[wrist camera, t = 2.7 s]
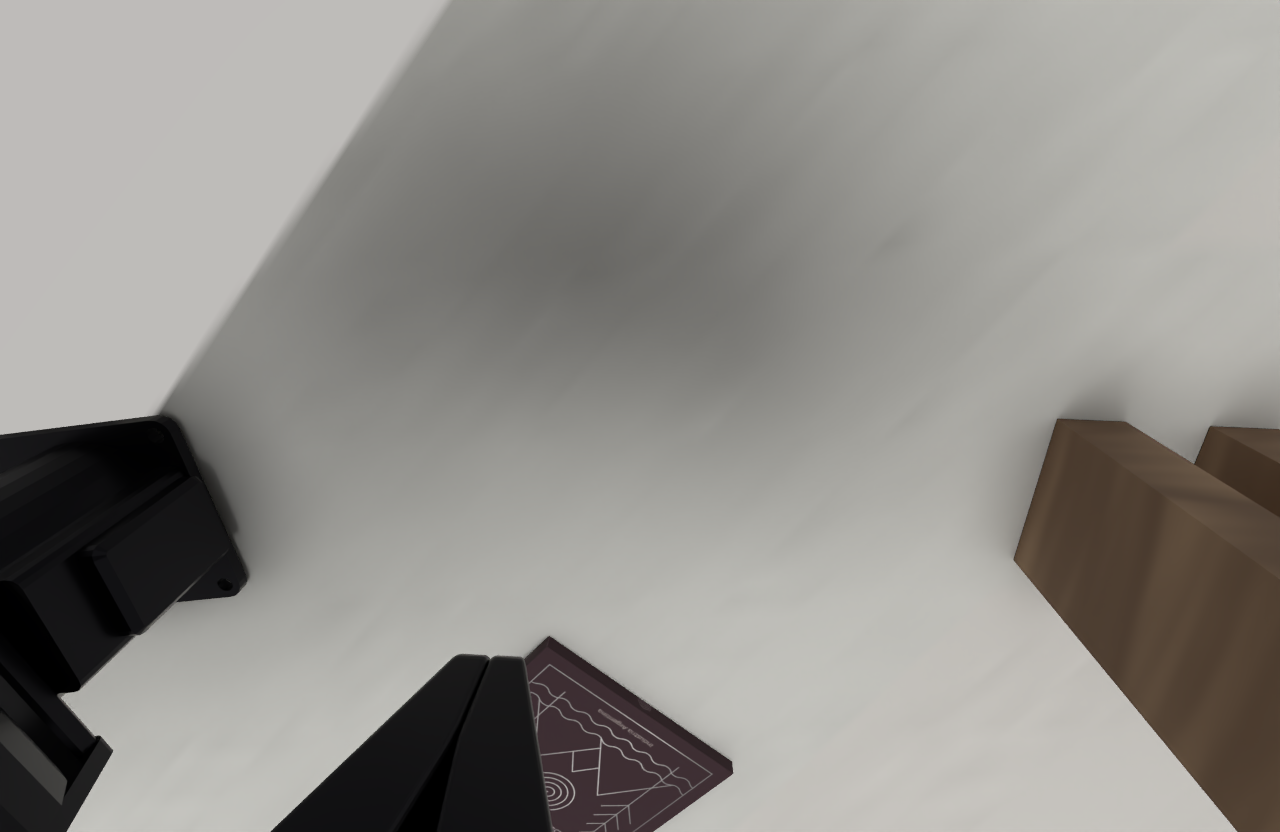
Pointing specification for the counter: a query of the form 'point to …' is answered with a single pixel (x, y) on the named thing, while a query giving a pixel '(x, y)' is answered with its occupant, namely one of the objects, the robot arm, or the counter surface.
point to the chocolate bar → (611, 750)
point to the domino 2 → (1245, 462)
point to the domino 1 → (1169, 601)
